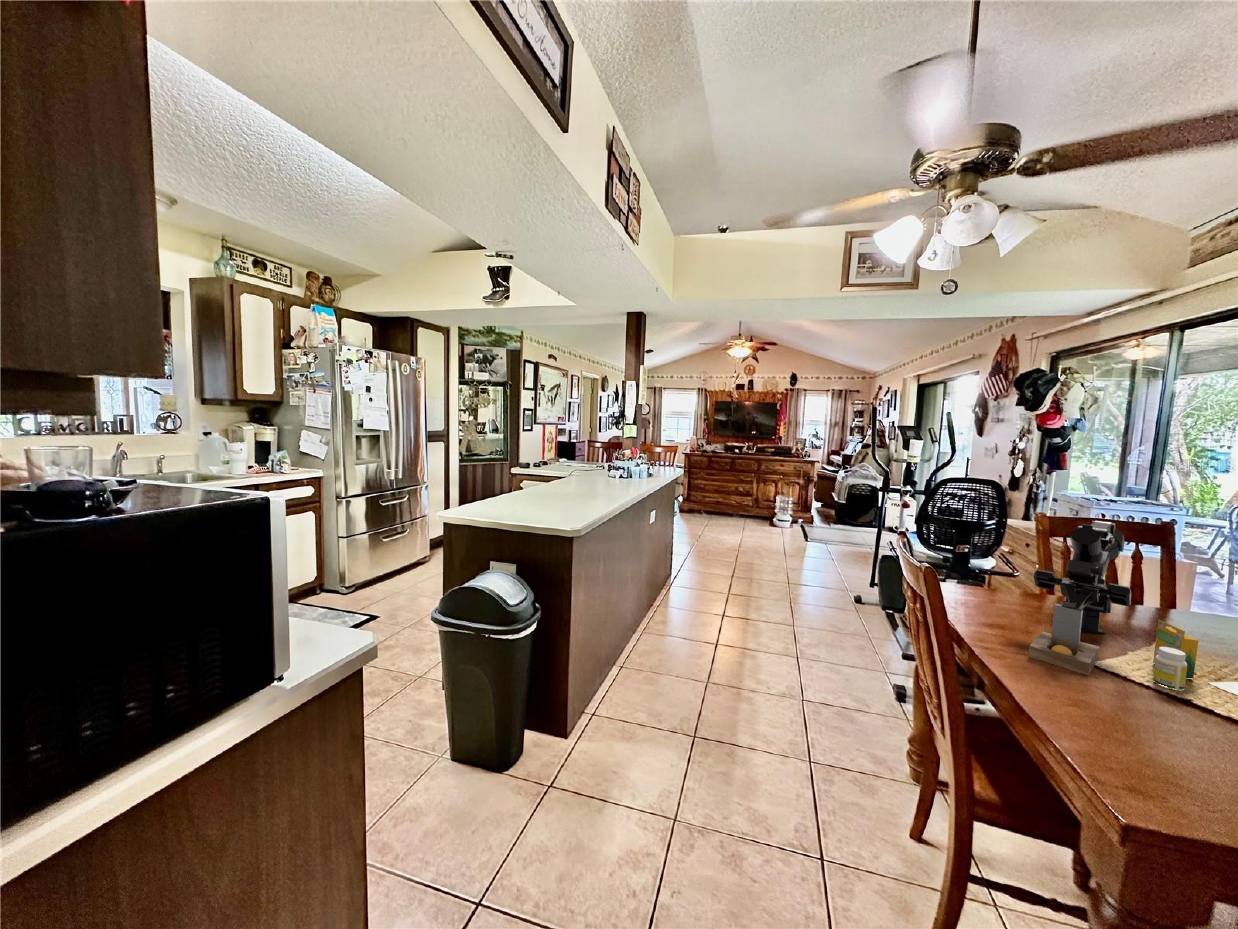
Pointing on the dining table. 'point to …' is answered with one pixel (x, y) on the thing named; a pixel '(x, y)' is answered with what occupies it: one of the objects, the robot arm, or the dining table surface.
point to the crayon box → (1177, 644)
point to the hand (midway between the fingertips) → (1073, 613)
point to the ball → (1061, 649)
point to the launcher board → (1077, 661)
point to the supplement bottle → (1170, 668)
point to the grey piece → (1067, 625)
